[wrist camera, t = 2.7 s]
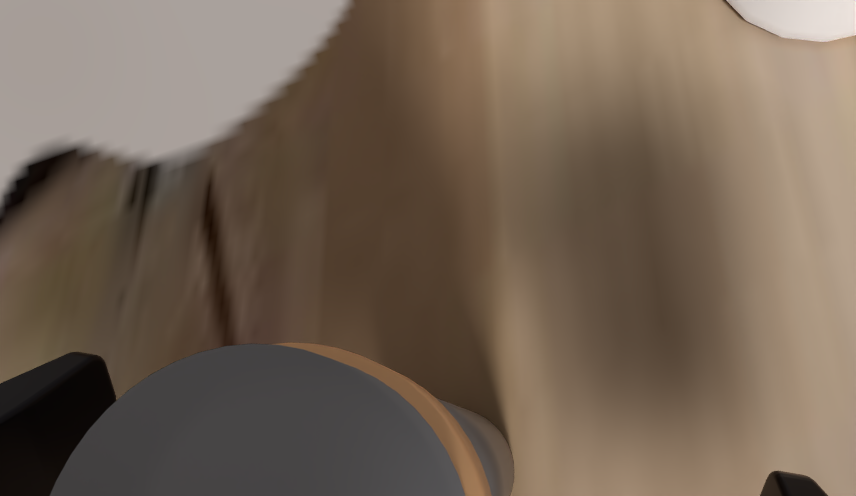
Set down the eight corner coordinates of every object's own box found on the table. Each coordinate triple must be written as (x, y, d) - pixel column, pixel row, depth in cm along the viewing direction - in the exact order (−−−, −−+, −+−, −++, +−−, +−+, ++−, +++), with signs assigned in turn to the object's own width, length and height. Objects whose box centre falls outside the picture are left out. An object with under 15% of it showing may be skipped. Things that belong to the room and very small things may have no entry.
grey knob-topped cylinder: (480, 565, 15) (311, 1014, 3) (369, 494, 16) (-77, 662, 4) (541, 444, 15) (573, 478, 4) (430, 381, 16) (183, 253, 5)
